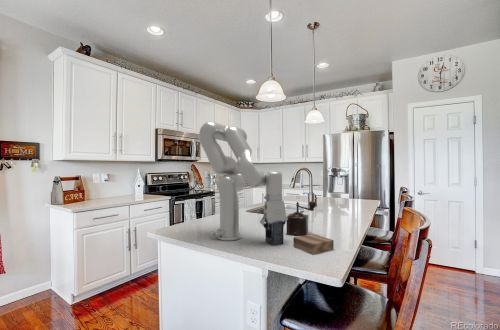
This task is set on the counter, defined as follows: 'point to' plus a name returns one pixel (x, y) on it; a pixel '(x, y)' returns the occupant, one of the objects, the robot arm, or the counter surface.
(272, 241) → the box
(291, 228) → the antique coffee grinder
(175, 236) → the counter surface
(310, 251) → the base
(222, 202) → the robot arm
